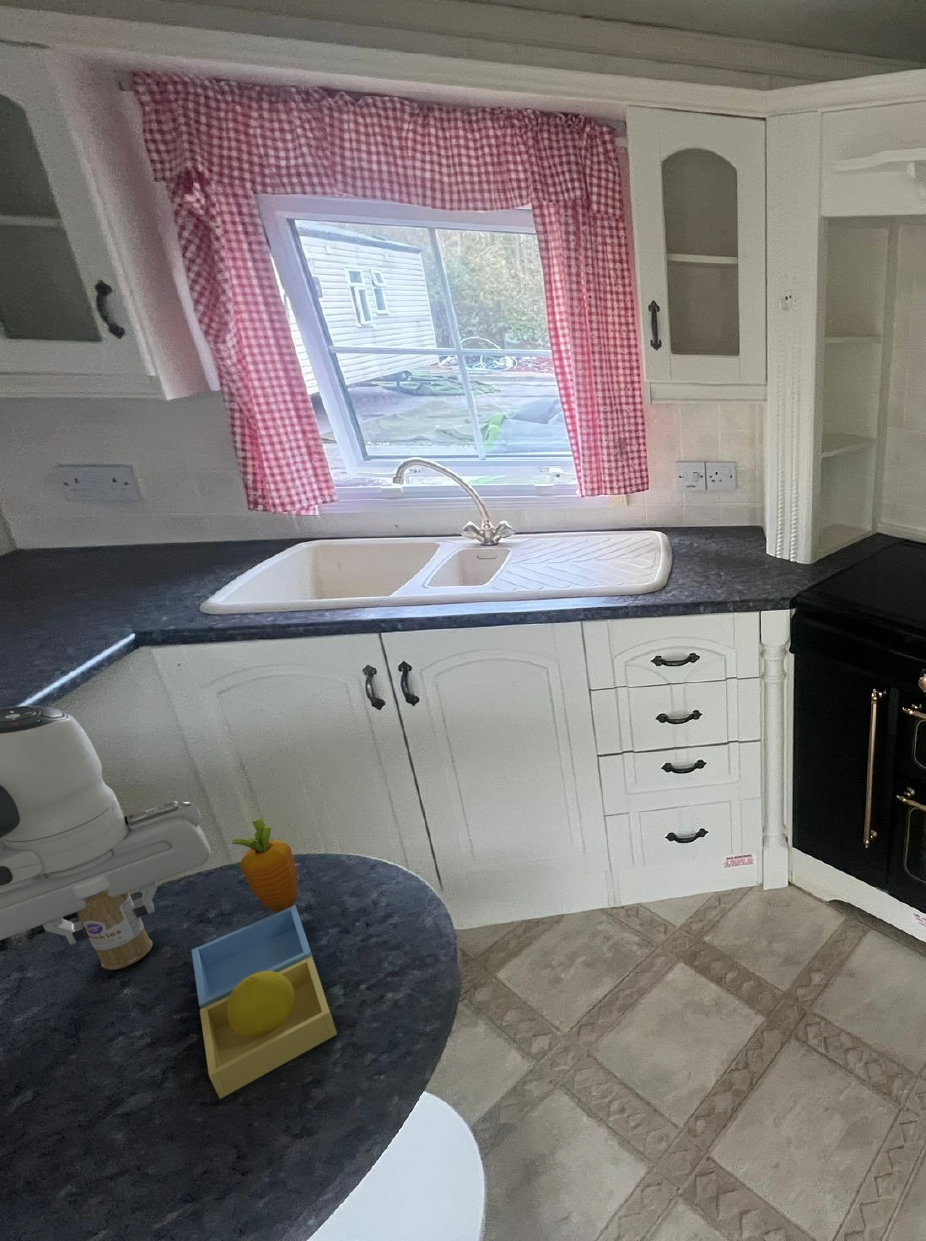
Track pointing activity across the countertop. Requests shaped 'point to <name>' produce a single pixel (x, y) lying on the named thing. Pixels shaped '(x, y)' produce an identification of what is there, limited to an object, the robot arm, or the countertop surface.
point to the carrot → (269, 869)
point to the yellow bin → (255, 1056)
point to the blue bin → (248, 954)
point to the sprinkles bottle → (112, 925)
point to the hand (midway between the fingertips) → (114, 925)
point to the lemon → (260, 1004)
